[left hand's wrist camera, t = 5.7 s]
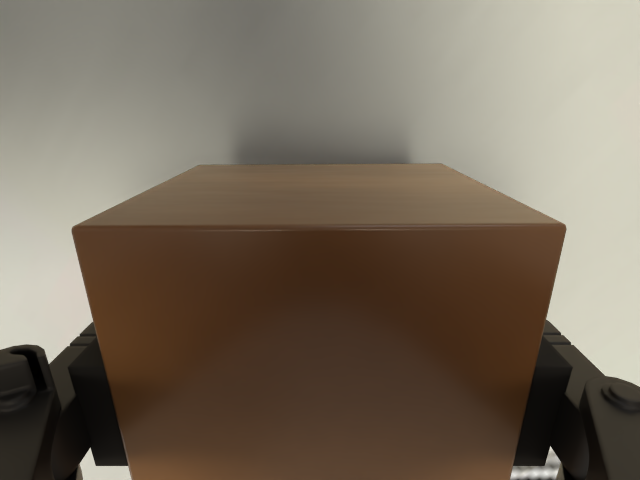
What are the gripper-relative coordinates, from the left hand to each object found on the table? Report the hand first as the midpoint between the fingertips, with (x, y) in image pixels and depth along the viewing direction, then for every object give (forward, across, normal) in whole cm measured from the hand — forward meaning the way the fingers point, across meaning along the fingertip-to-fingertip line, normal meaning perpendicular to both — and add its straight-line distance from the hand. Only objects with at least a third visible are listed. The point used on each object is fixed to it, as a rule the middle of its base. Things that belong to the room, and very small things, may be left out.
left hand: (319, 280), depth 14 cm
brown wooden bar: (0, 0, -33) cm, 33 cm away
